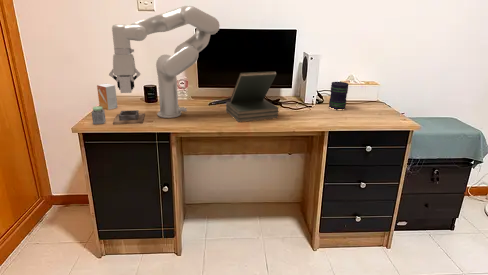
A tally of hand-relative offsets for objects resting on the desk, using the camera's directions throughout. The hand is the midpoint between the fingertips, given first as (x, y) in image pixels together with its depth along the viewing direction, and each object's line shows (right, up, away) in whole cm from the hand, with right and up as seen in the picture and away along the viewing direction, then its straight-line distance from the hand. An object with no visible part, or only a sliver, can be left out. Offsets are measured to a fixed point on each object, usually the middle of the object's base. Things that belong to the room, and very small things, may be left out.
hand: (126, 88), depth 171 cm
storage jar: (+114, -7, +35) cm, 119 cm away
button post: (-13, -17, 0) cm, 21 cm away
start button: (-13, -16, 0) cm, 21 cm away
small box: (-19, -7, +25) cm, 32 cm away
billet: (0, -1, 0) cm, 1 cm away
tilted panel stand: (+63, -12, +18) cm, 66 cm away
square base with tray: (0, -15, +6) cm, 16 cm away
